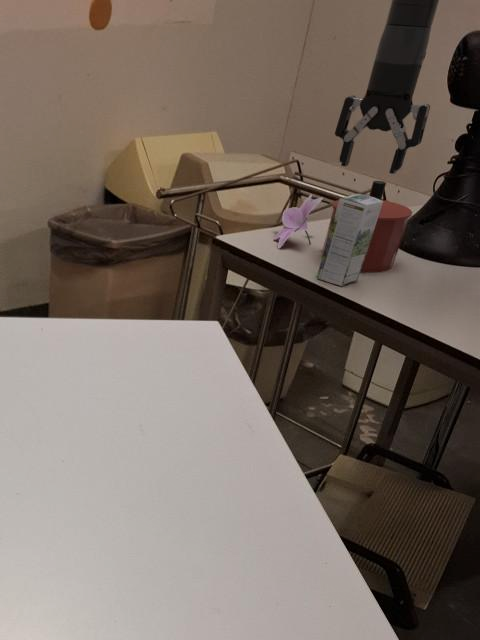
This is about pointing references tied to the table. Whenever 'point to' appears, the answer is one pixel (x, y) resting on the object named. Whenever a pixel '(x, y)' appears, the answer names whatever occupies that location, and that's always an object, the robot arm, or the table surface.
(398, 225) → the pot
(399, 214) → the pot lid
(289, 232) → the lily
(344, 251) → the syrup box
